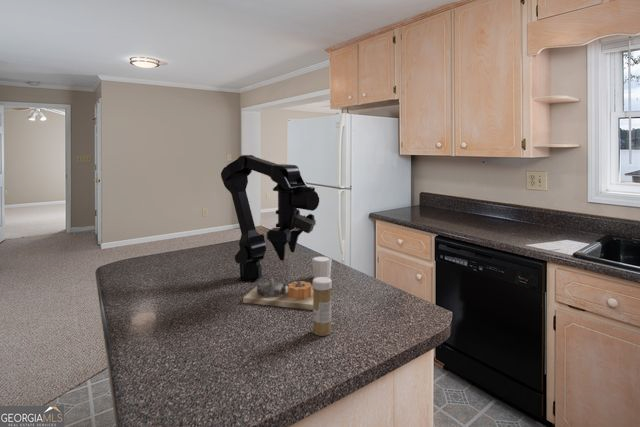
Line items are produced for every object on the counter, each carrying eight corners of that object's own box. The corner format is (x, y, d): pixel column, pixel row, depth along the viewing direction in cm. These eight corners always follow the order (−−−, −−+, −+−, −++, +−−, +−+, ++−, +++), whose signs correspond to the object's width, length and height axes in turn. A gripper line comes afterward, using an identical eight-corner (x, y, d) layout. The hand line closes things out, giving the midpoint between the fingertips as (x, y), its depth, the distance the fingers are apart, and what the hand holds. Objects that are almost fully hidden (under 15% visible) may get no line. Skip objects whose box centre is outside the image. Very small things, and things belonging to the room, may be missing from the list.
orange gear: (284, 298, 109) (284, 288, 109) (292, 289, 116) (292, 280, 116) (307, 300, 108) (307, 290, 107) (314, 291, 114) (314, 282, 114)
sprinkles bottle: (311, 328, 94) (311, 276, 92) (329, 327, 95) (329, 275, 92) (314, 337, 89) (314, 283, 87) (333, 335, 90) (333, 281, 88)
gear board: (242, 302, 110) (242, 284, 109) (259, 288, 122) (259, 271, 121) (315, 310, 105) (315, 291, 104) (326, 294, 116) (326, 277, 115)
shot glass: (330, 282, 127) (329, 262, 126) (310, 281, 128) (309, 261, 127) (333, 275, 133) (333, 256, 132) (314, 274, 135) (314, 255, 134)
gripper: (303, 213, 104) (302, 267, 107) (321, 203, 122) (320, 250, 125) (265, 211, 107) (266, 264, 110) (288, 201, 125) (288, 247, 128)
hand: (287, 256), depth 118 cm, fingers open, 9 cm apart
